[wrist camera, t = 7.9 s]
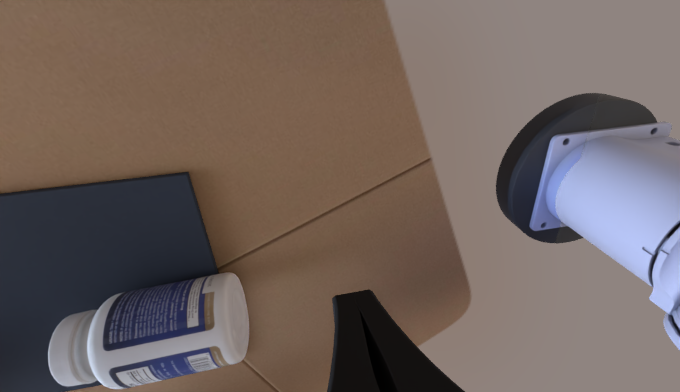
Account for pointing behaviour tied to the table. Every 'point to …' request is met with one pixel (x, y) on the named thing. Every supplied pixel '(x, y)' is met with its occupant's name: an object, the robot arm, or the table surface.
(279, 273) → the table surface
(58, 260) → the mat
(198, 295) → the pill bottle
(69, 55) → the table surface
